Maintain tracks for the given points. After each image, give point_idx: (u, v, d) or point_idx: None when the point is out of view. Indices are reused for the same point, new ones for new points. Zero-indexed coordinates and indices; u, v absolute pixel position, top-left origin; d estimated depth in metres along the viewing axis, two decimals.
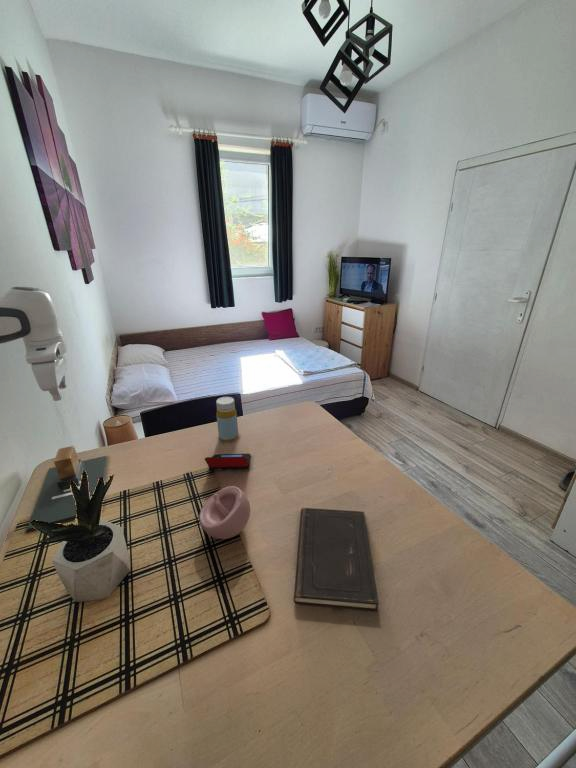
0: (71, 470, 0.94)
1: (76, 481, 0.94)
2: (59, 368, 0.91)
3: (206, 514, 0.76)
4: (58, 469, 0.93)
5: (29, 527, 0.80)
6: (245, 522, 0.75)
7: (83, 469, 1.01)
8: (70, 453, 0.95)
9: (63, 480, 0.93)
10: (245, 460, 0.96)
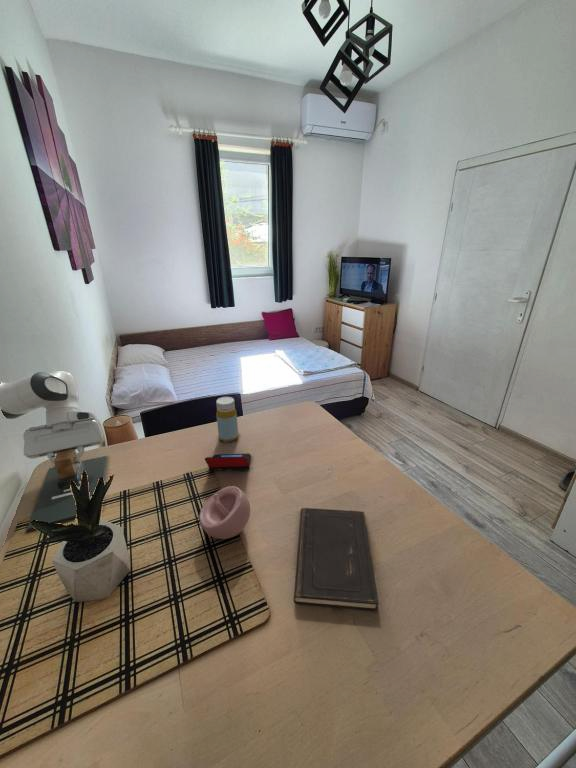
0: (71, 470, 0.94)
1: (76, 481, 0.94)
2: None
3: (206, 514, 0.76)
4: (58, 469, 0.93)
5: (29, 527, 0.80)
6: (245, 522, 0.75)
7: (83, 469, 1.01)
8: (70, 453, 0.95)
9: (63, 480, 0.93)
10: (245, 460, 0.96)
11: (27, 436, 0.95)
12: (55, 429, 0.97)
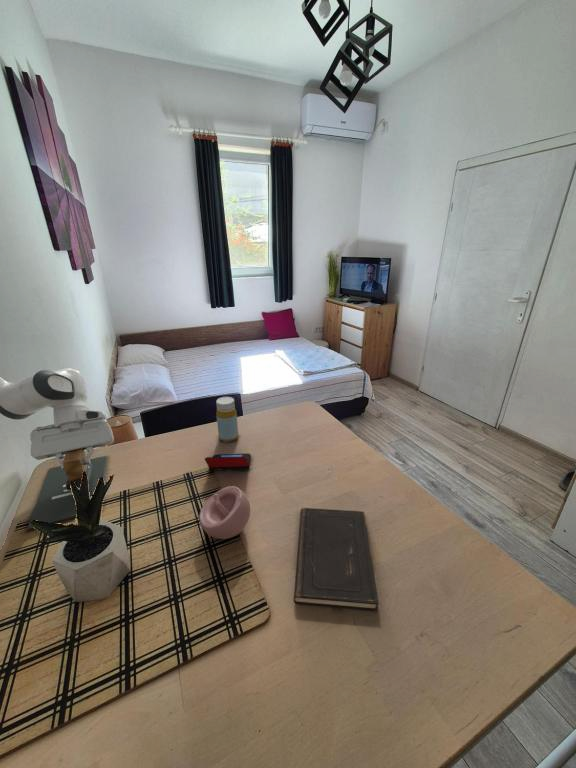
0: (81, 471, 0.90)
1: None
2: None
3: (206, 514, 0.76)
4: (67, 471, 0.88)
5: (29, 527, 0.80)
6: (245, 522, 0.75)
7: None
8: (79, 454, 0.91)
9: None
10: (245, 460, 0.96)
11: (34, 436, 0.90)
12: (63, 429, 0.92)
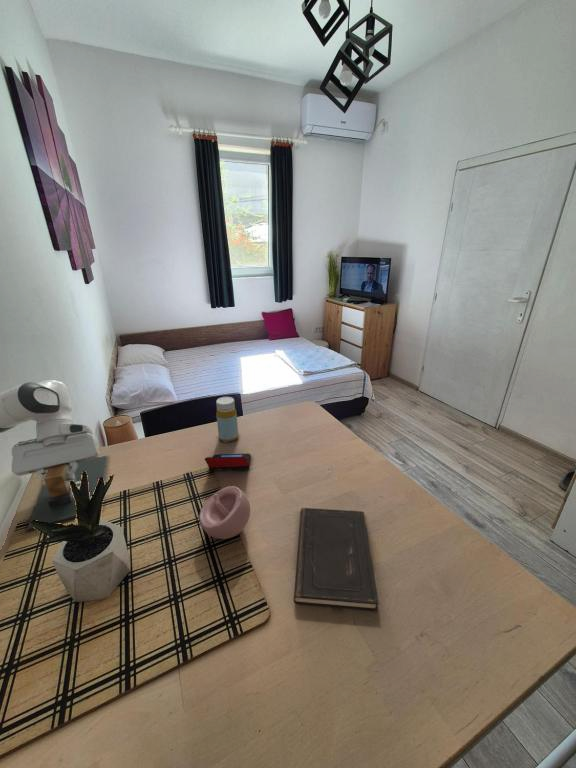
0: (64, 488, 0.87)
1: (69, 500, 0.87)
2: None
3: (206, 514, 0.76)
4: (49, 487, 0.86)
5: (29, 527, 0.80)
6: (245, 522, 0.75)
7: (83, 469, 1.01)
8: (62, 469, 0.88)
9: (54, 499, 0.86)
10: (245, 460, 0.96)
11: (15, 451, 0.88)
12: (46, 443, 0.89)
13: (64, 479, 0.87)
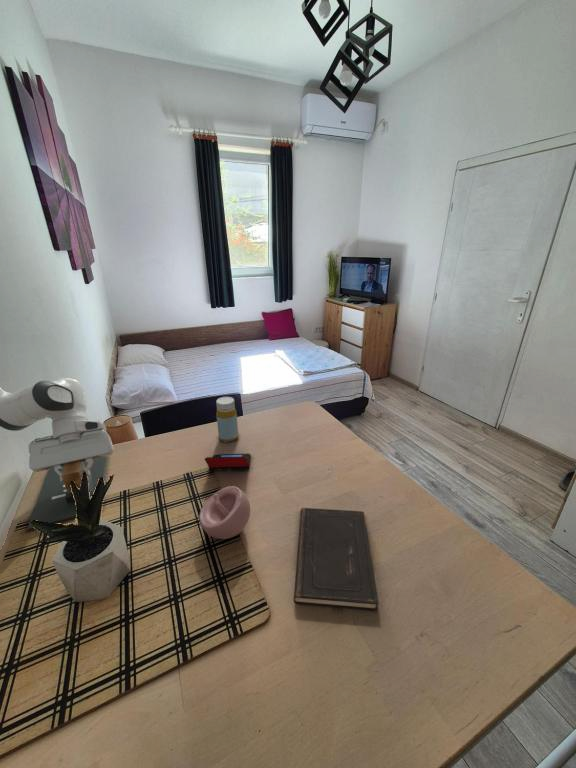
0: (80, 483, 0.89)
1: None
2: None
3: (206, 514, 0.76)
4: (66, 483, 0.87)
5: (29, 527, 0.80)
6: (245, 522, 0.75)
7: None
8: (78, 466, 0.89)
9: (71, 495, 0.88)
10: (245, 460, 0.96)
11: (32, 448, 0.89)
12: (62, 440, 0.91)
13: (80, 475, 0.89)
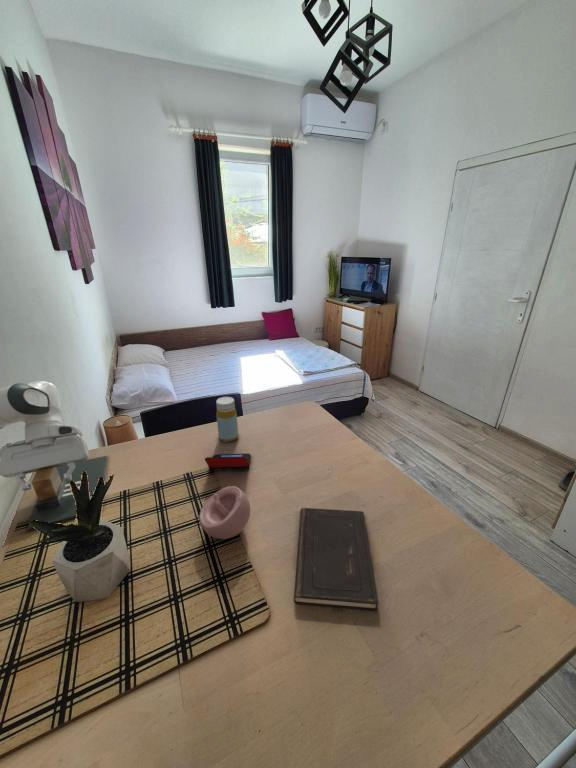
0: (52, 491, 0.86)
1: (57, 503, 0.86)
2: None
3: (206, 514, 0.76)
4: (36, 490, 0.85)
5: (29, 527, 0.80)
6: (245, 522, 0.75)
7: (83, 469, 1.01)
8: (50, 472, 0.87)
9: (42, 502, 0.85)
10: (245, 460, 0.96)
11: (3, 453, 0.87)
12: (34, 445, 0.89)
13: (52, 482, 0.86)
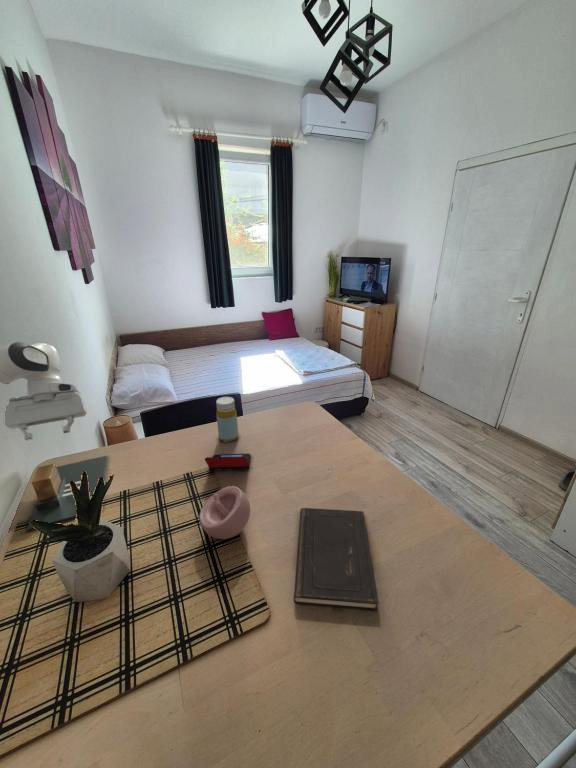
0: (52, 491, 0.86)
1: (57, 503, 0.86)
2: None
3: (206, 514, 0.76)
4: (36, 490, 0.85)
5: (29, 527, 0.80)
6: (245, 522, 0.75)
7: (83, 469, 1.01)
8: (50, 472, 0.87)
9: (42, 502, 0.85)
10: (245, 460, 0.96)
11: (7, 406, 0.94)
12: (36, 400, 0.96)
13: (52, 482, 0.86)
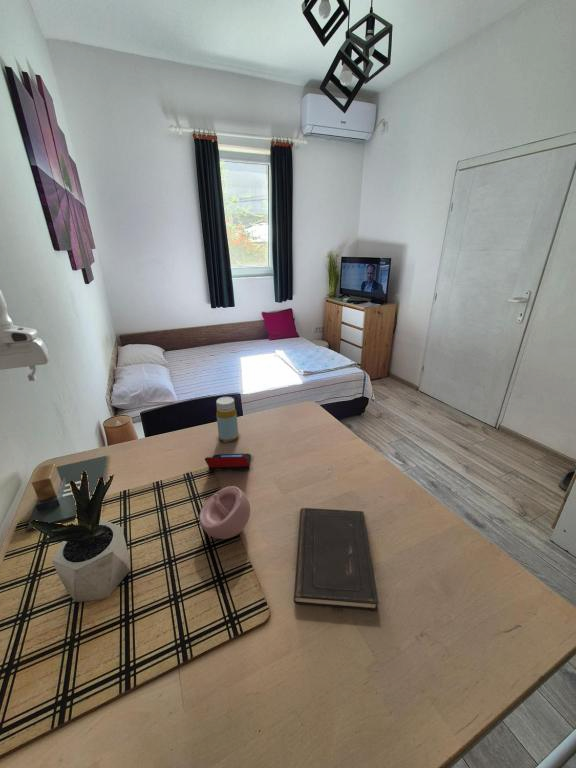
0: (52, 491, 0.86)
1: (57, 503, 0.86)
2: None
3: (206, 514, 0.76)
4: (36, 490, 0.85)
5: (29, 527, 0.80)
6: (245, 522, 0.75)
7: (83, 469, 1.01)
8: (50, 472, 0.87)
9: (42, 502, 0.85)
10: (245, 460, 0.96)
11: None
12: None
13: (52, 482, 0.86)
